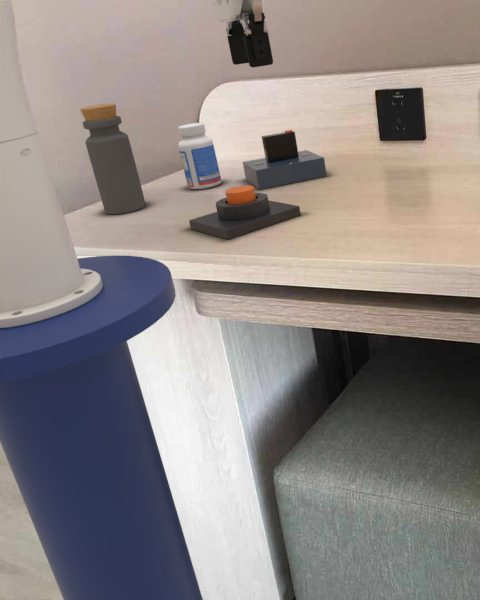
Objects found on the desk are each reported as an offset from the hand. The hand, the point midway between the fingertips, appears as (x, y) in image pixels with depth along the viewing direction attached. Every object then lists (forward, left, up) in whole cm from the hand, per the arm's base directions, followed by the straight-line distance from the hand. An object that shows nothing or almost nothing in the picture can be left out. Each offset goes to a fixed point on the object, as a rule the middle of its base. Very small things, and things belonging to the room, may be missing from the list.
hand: (252, 64), depth 96 cm
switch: (-12, -11, -16) cm, 23 cm away
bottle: (-17, +14, -18) cm, 29 cm away
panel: (+6, +5, -18) cm, 19 cm away
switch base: (-12, -11, -18) cm, 25 cm away
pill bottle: (-3, +15, -18) cm, 24 cm away
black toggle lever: (+6, +5, -15) cm, 17 cm away
